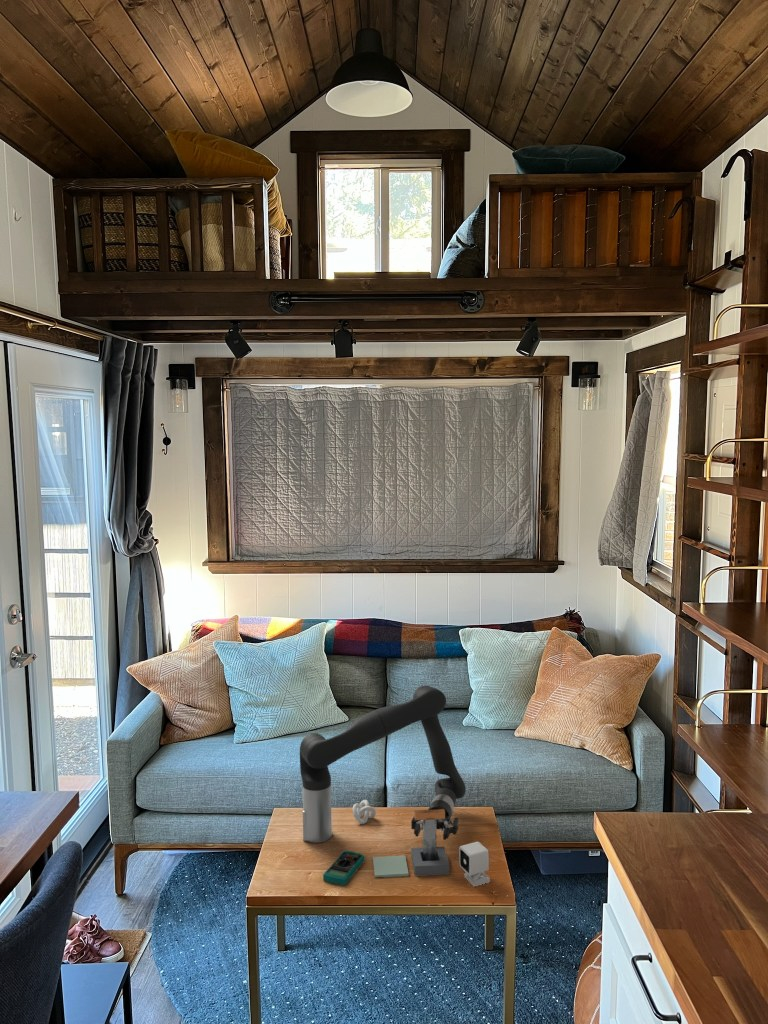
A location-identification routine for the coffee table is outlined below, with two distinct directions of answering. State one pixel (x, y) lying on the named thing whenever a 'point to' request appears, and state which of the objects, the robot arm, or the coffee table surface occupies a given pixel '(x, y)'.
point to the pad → (390, 866)
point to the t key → (429, 831)
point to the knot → (363, 811)
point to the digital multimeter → (343, 868)
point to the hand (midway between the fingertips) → (430, 835)
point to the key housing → (429, 863)
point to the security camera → (474, 863)
